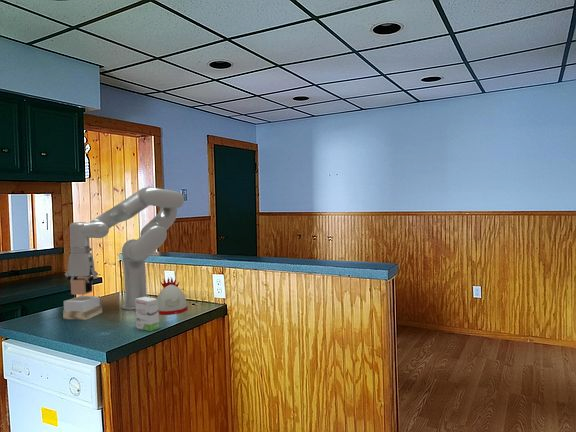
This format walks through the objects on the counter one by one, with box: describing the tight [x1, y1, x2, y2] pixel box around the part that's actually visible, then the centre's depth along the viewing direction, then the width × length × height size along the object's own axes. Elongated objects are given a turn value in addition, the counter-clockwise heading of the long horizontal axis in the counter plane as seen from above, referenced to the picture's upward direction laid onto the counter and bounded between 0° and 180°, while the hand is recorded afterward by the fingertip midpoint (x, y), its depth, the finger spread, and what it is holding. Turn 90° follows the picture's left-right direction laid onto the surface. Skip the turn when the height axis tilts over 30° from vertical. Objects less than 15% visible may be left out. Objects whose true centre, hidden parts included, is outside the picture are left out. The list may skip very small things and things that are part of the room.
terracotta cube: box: [70, 277, 94, 296], centre depth 184 cm, size 6×6×6 cm
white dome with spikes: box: [156, 277, 188, 316], centre depth 189 cm, size 14×14×15 cm
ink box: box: [135, 296, 160, 332], centre depth 164 cm, size 9×5×12 cm, turn 55°
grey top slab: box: [63, 295, 101, 312], centre depth 184 cm, size 10×10×4 cm
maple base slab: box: [62, 304, 103, 321], centre depth 184 cm, size 11×11×4 cm
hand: (81, 291), depth 184 cm, fingers closed on terracotta cube, 6 cm apart
